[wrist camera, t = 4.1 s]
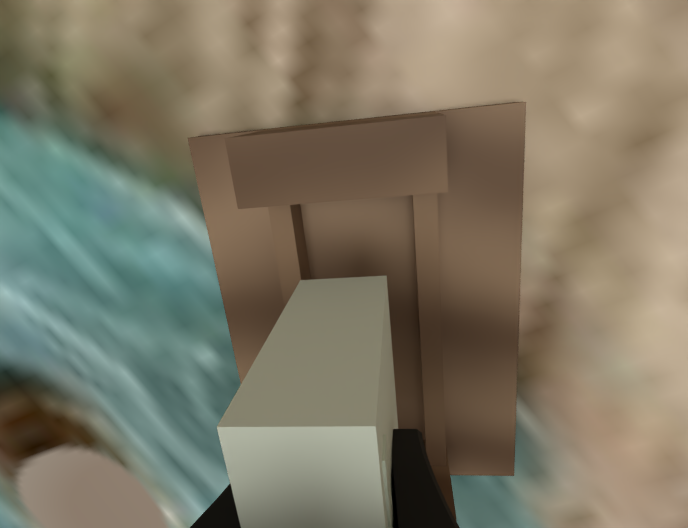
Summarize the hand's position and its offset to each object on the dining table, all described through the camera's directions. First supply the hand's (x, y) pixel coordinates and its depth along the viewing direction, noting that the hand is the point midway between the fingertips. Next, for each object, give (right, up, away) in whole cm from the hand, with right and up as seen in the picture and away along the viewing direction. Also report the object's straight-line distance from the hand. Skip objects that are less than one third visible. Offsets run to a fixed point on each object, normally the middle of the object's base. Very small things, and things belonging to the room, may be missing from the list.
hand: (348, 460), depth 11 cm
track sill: (+1, +3, +8) cm, 8 cm away
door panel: (0, +1, +2) cm, 2 cm away
